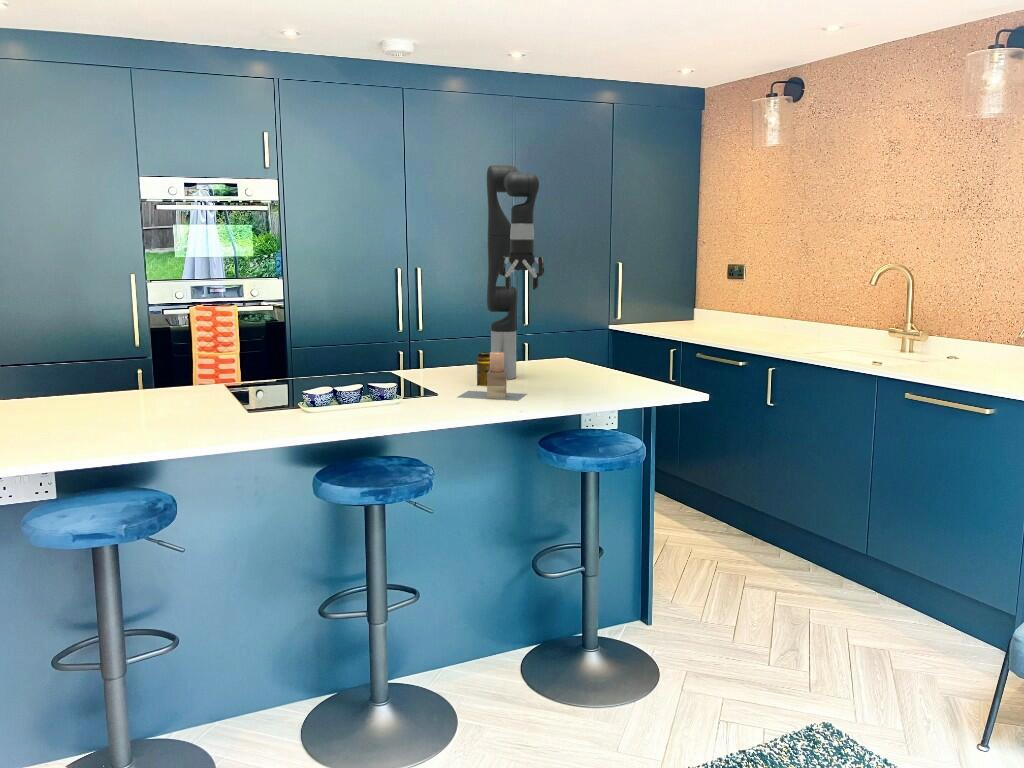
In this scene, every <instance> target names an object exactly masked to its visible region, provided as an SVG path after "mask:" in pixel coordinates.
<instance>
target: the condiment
mask: <svg viewBox="0 0 1024 768" xmlns="http://www.w3.org/2000/svg"><path fill="white" fill-rule="evenodd" d="M477 356H478V357H477V361H476V385H474V384H472V385H471V386H477V387H479V386H480V387H481V386H482V387H487V372H488V371H489V370H490V352H489V351H488V352H487V351H486V352H485V351H484V352H482V351H481V352H478V353H477Z"/></svg>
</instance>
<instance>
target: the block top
mask: <svg viewBox="0 0 1024 768" xmlns="http://www.w3.org/2000/svg"><path fill="white" fill-rule="evenodd" d="M506 375H507V371H504V372H502V373H492V372H490V370H489V371H488V372H487V386H505V385H506V386H507V379H506ZM487 386H486V387H487Z"/></svg>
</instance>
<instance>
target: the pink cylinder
mask: <svg viewBox="0 0 1024 768" xmlns="http://www.w3.org/2000/svg"><path fill="white" fill-rule="evenodd" d="M489 353H490V372H492V373H502V372H504V352H491V351H490V352H489Z"/></svg>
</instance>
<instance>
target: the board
mask: <svg viewBox="0 0 1024 768" xmlns="http://www.w3.org/2000/svg"><path fill="white" fill-rule="evenodd" d="M527 395H528V393H518V392H517V393H516V392H506V397H505V399H492V400H493V401H494V400H497V401H515V402H516V401H517V402H519V401H520V400H522V399H524V398H525V396H527ZM457 398H462V399H475V400H476V399H477V400H490V399H489V398H487V391H483V390H482V391H481V390H479V391H478V390H467V391H465V392H464V393H462V394H459V395H457Z"/></svg>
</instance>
